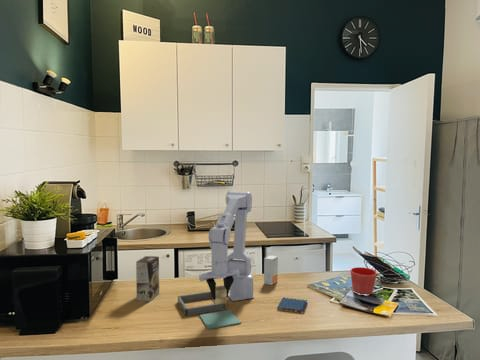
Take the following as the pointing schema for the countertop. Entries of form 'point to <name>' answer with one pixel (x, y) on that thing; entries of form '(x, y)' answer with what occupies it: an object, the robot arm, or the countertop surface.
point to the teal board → (219, 319)
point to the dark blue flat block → (292, 305)
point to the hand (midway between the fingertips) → (219, 297)
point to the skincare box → (270, 269)
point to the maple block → (220, 295)
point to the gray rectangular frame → (200, 308)
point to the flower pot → (363, 280)
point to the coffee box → (147, 278)
